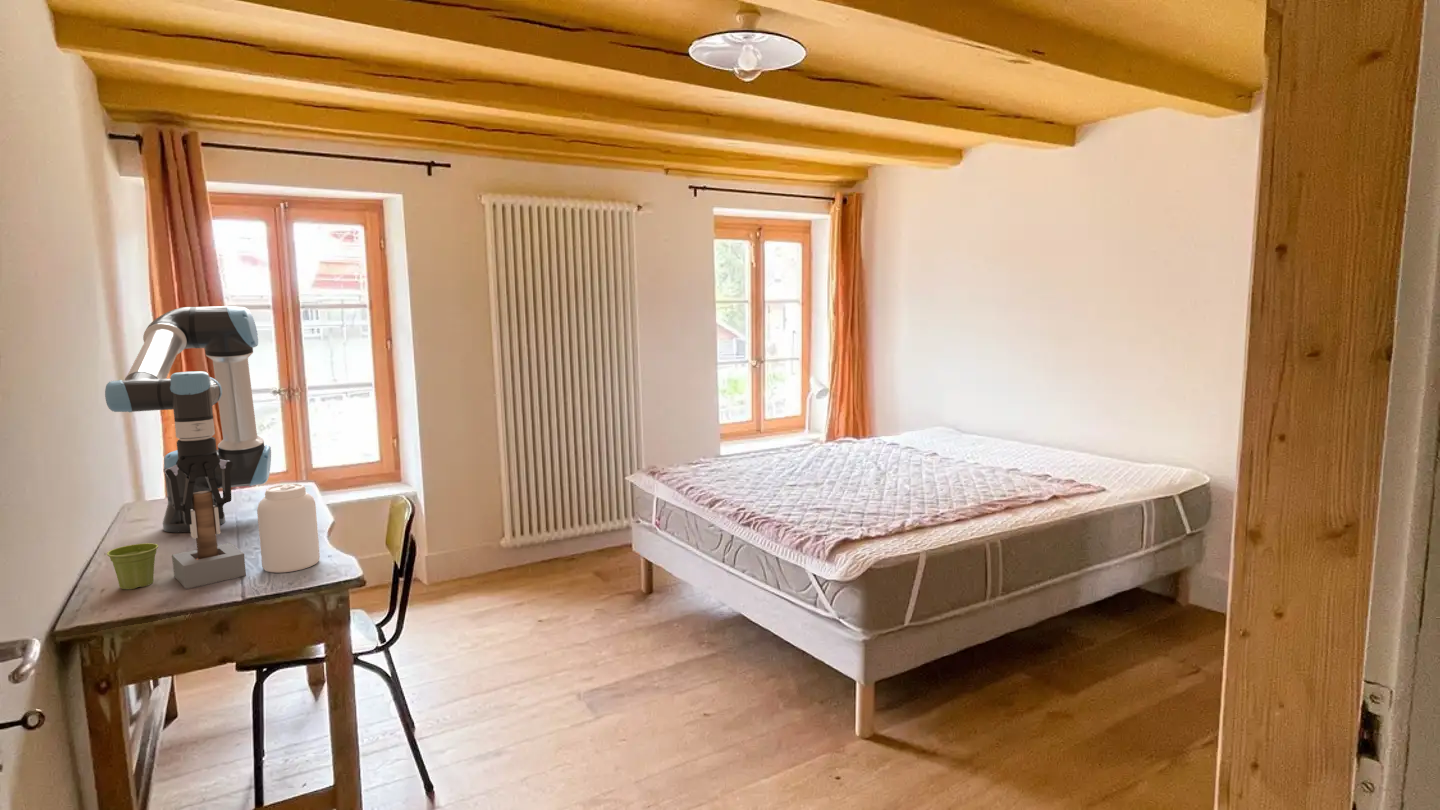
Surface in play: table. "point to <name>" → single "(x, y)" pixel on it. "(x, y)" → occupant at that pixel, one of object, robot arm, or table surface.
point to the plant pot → (134, 564)
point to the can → (288, 529)
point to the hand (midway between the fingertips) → (205, 534)
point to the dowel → (205, 524)
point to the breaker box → (208, 566)
